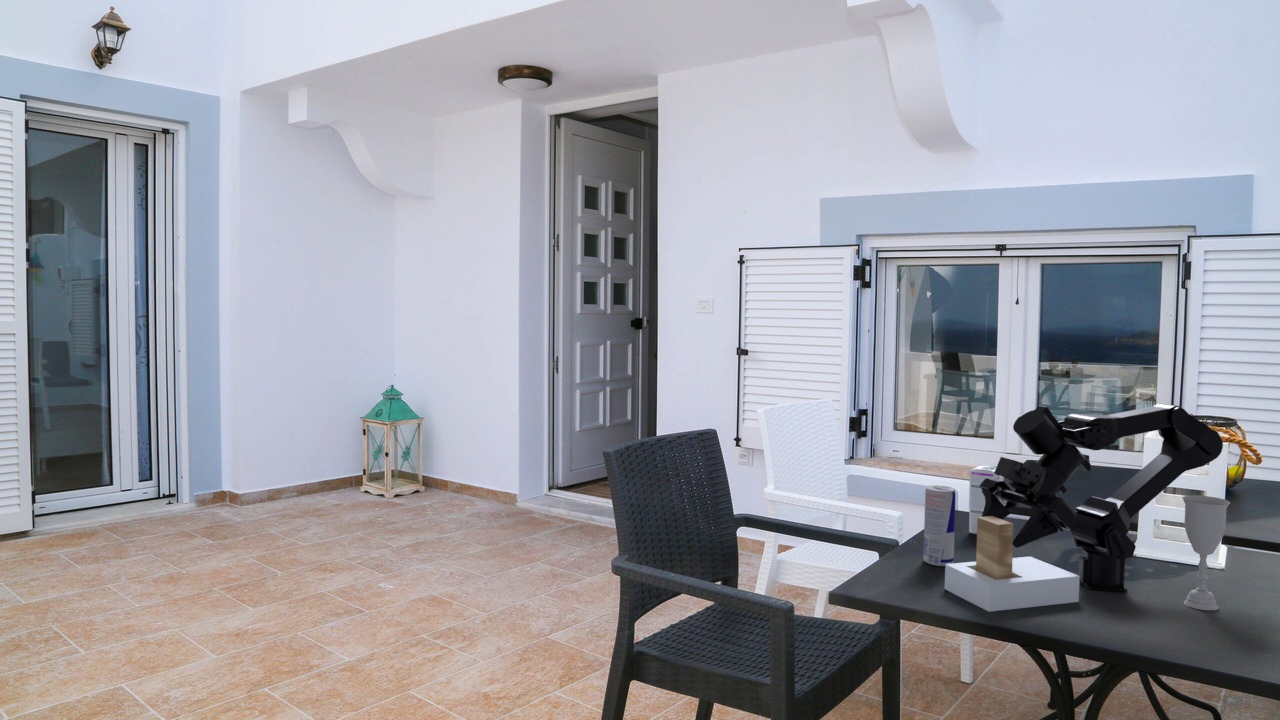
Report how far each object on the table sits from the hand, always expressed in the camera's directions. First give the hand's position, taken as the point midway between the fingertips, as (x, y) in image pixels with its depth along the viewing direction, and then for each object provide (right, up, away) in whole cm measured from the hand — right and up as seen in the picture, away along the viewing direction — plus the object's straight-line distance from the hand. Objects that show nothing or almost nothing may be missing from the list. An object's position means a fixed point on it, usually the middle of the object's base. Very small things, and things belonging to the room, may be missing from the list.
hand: (996, 538), depth 153 cm
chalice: (+33, -11, -3) cm, 35 cm away
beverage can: (-3, -9, +20) cm, 23 cm away
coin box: (+3, -10, +2) cm, 11 cm away
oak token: (0, -10, 0) cm, 10 cm away
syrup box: (+15, -8, +44) cm, 47 cm away
